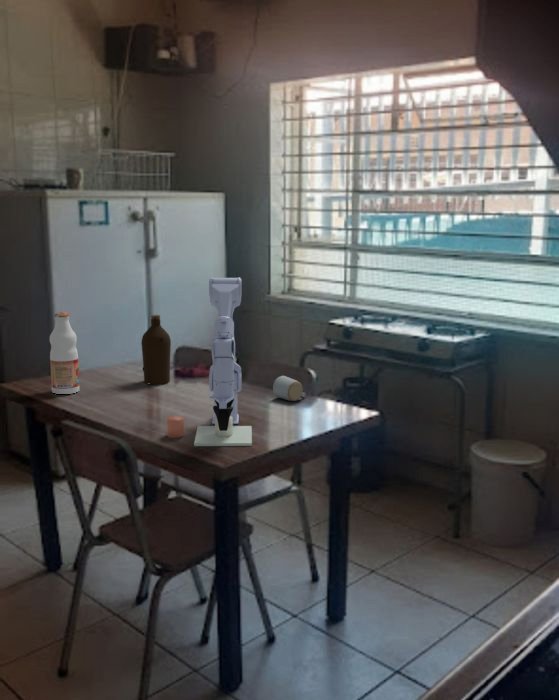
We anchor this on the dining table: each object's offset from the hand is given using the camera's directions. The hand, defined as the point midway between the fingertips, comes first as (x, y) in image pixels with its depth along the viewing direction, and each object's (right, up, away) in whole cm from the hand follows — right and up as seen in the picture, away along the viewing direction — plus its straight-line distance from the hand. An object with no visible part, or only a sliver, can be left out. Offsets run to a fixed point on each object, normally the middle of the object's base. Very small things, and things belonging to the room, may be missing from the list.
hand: (223, 426), depth 217 cm
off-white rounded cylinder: (0, -2, 0) cm, 2 cm away
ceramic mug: (+20, +5, +43) cm, 47 cm away
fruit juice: (-59, +7, +48) cm, 77 cm away
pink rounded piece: (-14, -3, +2) cm, 15 cm away
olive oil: (-30, +10, +64) cm, 71 cm away
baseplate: (0, -3, +1) cm, 3 cm away
